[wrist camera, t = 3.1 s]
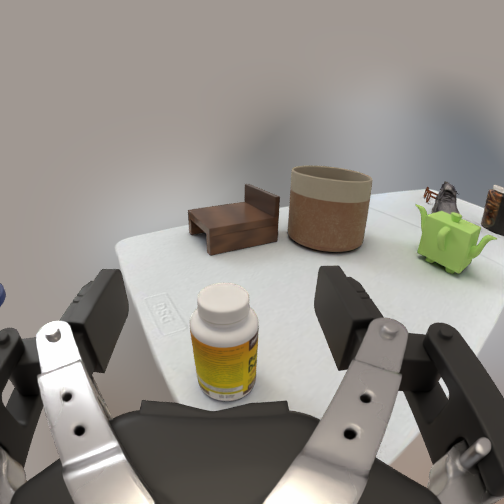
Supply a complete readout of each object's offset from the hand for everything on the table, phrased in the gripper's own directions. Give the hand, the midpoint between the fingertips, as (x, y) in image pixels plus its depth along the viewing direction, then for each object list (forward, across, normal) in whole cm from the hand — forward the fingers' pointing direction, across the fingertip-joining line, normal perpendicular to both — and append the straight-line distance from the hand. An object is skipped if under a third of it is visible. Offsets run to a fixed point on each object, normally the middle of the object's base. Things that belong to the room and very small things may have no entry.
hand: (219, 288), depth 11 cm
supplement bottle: (+8, 0, -16) cm, 19 cm away
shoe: (+57, +65, -16) cm, 88 cm away
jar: (+53, +90, -16) cm, 106 cm away
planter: (+43, +20, -16) cm, 50 cm away
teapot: (+31, +43, -16) cm, 56 cm away
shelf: (+44, +1, -16) cm, 47 cm away
